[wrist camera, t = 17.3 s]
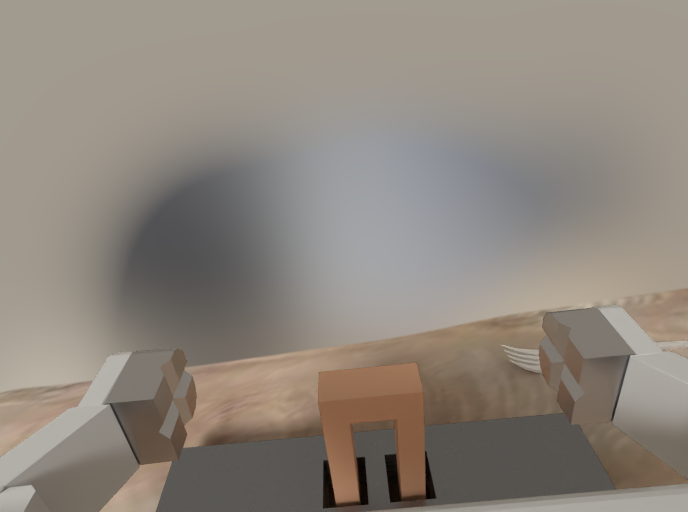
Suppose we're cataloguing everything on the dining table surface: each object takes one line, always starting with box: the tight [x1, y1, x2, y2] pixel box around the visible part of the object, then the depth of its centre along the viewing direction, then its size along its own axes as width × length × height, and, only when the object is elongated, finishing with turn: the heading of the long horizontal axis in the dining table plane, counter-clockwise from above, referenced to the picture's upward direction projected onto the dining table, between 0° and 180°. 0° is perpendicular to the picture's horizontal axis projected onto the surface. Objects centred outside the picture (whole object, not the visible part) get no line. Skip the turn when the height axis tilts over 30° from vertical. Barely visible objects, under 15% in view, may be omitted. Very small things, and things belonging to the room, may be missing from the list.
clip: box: [318, 363, 426, 507], centre depth 31 cm, size 2×6×12 cm, turn 92°
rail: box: [156, 413, 616, 512], centre depth 33 cm, size 8×30×3 cm, turn 92°
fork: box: [501, 340, 688, 373], centre depth 44 cm, size 3×20×2 cm, turn 93°
